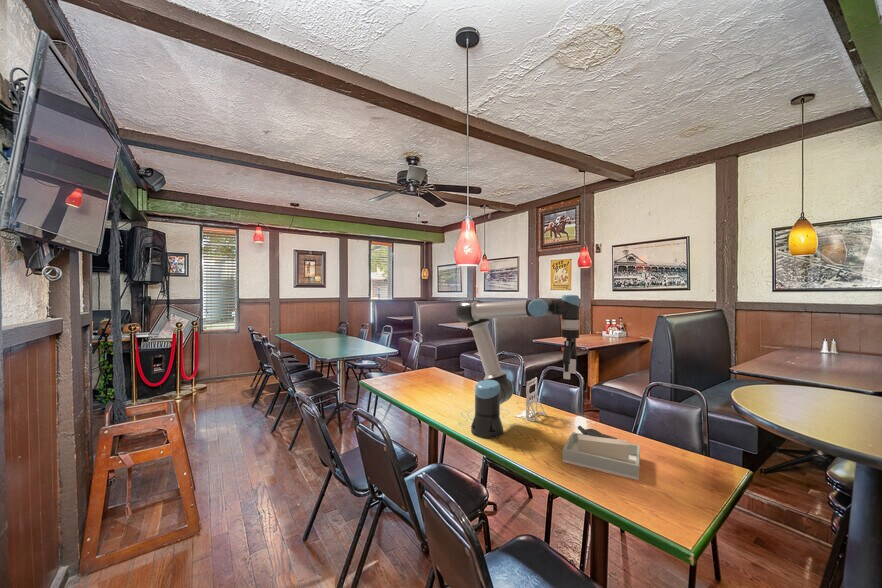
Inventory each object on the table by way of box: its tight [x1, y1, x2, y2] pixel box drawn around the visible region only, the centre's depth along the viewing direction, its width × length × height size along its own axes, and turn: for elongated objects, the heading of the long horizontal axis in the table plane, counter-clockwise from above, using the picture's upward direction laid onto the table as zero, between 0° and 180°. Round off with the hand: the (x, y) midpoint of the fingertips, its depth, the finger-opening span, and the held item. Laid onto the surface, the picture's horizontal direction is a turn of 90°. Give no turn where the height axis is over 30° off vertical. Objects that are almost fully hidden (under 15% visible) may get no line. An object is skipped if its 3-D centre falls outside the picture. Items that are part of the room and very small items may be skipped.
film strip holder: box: [514, 376, 548, 423], centre depth 190 cm, size 14×14×20 cm
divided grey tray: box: [561, 431, 641, 481], centre depth 140 cm, size 26×20×5 cm
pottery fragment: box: [577, 425, 618, 439], centre depth 161 cm, size 15×12×4 cm
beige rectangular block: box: [577, 435, 629, 461], centre depth 140 cm, size 18×5×6 cm, turn 73°
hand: (569, 376), depth 159 cm, fingers open, 13 cm apart
